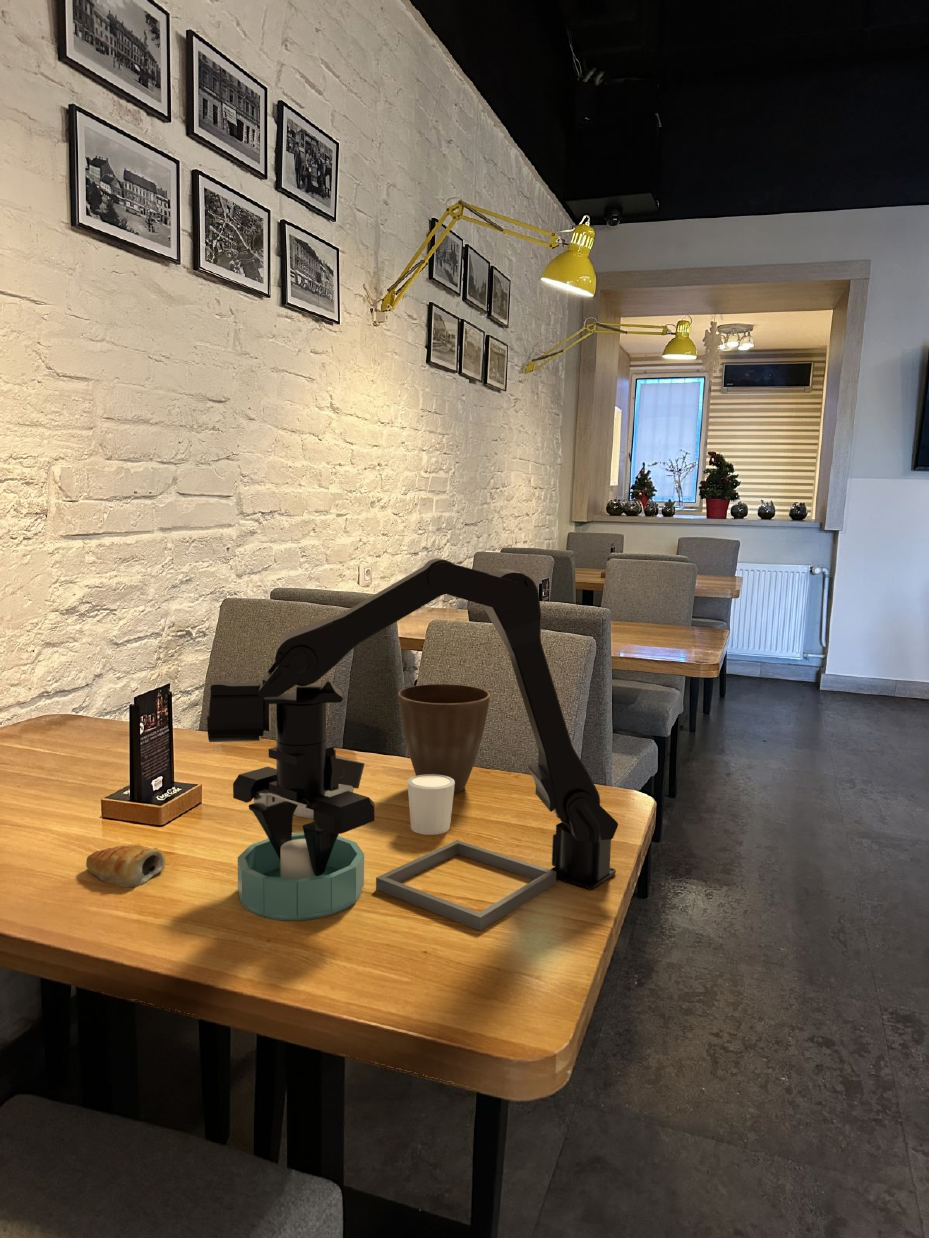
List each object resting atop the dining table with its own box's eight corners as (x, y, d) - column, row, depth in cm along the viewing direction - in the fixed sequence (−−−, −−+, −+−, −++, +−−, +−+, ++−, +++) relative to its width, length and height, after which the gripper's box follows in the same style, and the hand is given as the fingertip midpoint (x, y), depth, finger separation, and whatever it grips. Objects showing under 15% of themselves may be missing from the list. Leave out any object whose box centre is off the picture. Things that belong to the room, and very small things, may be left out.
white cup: (397, 830, 120) (397, 783, 119) (421, 815, 126) (422, 770, 125) (439, 839, 117) (440, 791, 116) (462, 824, 123) (463, 778, 122)
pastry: (71, 879, 102) (70, 848, 102) (111, 858, 109) (110, 830, 108) (135, 891, 100) (134, 860, 99) (172, 869, 106) (171, 840, 105)
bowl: (386, 889, 101) (387, 853, 101) (295, 933, 90) (295, 893, 89) (306, 857, 110) (306, 824, 109) (214, 894, 99) (213, 857, 98)
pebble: (332, 886, 100) (332, 846, 100) (299, 900, 96) (300, 858, 96) (303, 874, 103) (304, 835, 103) (271, 887, 99) (271, 847, 99)
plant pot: (497, 800, 134) (499, 701, 132) (403, 805, 131) (405, 704, 129) (476, 772, 148) (478, 683, 146) (392, 775, 145) (393, 684, 143)
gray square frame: (556, 883, 104) (556, 871, 104) (480, 930, 92) (480, 917, 91) (456, 850, 113) (456, 839, 113) (375, 889, 101) (376, 877, 101)
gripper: (408, 739, 98) (406, 867, 100) (300, 714, 110) (301, 829, 112) (338, 760, 90) (337, 900, 91) (229, 730, 101) (231, 855, 103)
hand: (301, 867), depth 100 cm, fingers open, 6 cm apart
